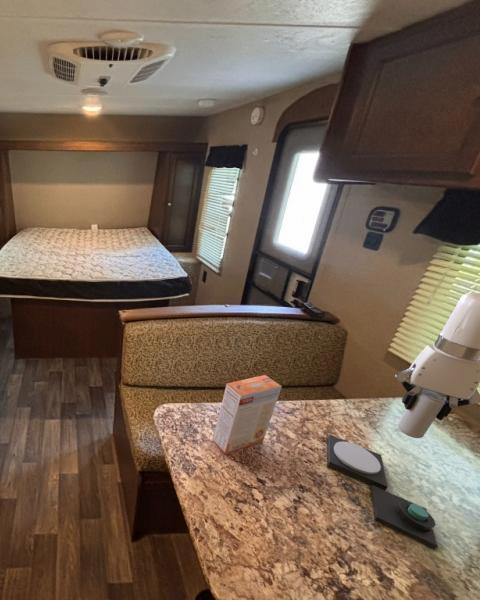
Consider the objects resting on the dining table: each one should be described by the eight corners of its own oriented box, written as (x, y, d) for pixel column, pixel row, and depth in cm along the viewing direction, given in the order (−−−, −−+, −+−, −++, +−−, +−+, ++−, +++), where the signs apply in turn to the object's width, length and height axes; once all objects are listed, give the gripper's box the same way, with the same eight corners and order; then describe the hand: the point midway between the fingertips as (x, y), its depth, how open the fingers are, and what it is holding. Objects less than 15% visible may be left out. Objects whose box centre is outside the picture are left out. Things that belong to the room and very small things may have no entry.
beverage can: (396, 421, 83) (418, 385, 78) (422, 432, 80) (446, 395, 75) (395, 431, 80) (418, 393, 75) (422, 442, 77) (447, 404, 72)
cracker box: (247, 428, 98) (265, 373, 90) (263, 443, 93) (284, 386, 84) (210, 438, 94) (226, 381, 85) (224, 455, 88) (242, 396, 80)
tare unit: (423, 512, 76) (429, 504, 74) (434, 549, 68) (441, 541, 67) (369, 488, 81) (374, 480, 80) (374, 520, 73) (379, 512, 72)
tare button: (423, 513, 73) (426, 508, 72) (426, 524, 70) (430, 519, 70) (406, 505, 74) (409, 501, 74) (408, 515, 72) (411, 511, 71)
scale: (378, 459, 89) (382, 452, 88) (384, 492, 80) (389, 484, 79) (326, 439, 95) (329, 432, 94) (326, 466, 86) (330, 459, 85)
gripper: (511, 354, 68) (466, 418, 75) (405, 329, 77) (374, 389, 84) (527, 370, 63) (478, 438, 70) (411, 342, 71) (378, 404, 79)
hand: (421, 410), depth 77 cm, fingers closed on beverage can, 4 cm apart
